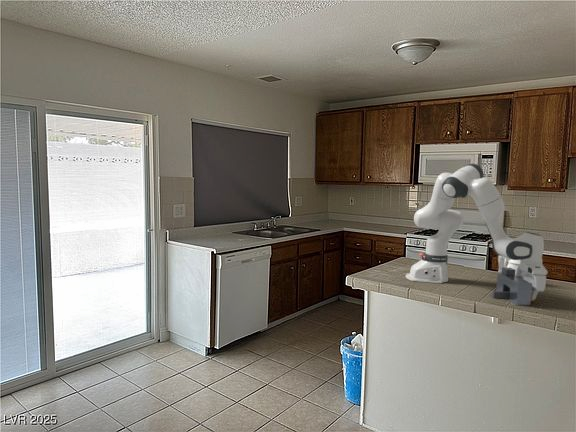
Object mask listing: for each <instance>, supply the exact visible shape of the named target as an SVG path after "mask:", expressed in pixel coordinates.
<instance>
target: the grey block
mask: <svg viewBox="0 0 576 432" xmlns="http://www.w3.org/2000/svg"><path fill="white" fill-rule="evenodd" d="M496 276H497V278H496V289H495V291H505V292H510V297H509V299H508V300H510V302H511V303H513V304H514V305H515V306H527V307H528V306H529V307H530V306H531V302H532V301H531V292H532V284H531V283H529V282H527V281H525V280H523V279H521V278H519V277H518V276H516V275H515V270H514V269H512V268H507V267H502V272H498V271H497V275H496Z"/></svg>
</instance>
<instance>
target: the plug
mask: <svg viewBox="0 0 576 432" xmlns="http://www.w3.org/2000/svg"><path fill="white" fill-rule="evenodd" d="M532 292H533V291H532ZM532 292H531V294H532ZM509 297H510V292H505V291H496V290H492V291H491V298H493V299H499V300H500V299H503V300H509ZM531 302H535V299H532V298H531Z"/></svg>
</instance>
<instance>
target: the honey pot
mask: <svg viewBox="0 0 576 432" xmlns="http://www.w3.org/2000/svg"><path fill="white" fill-rule="evenodd" d="M520 261H521V260H512V259H511V260H509V261H508V262H509V264H508V266H507V268H512V269H514V270H515V275H516V272H517V268H518V267H519V265H520Z"/></svg>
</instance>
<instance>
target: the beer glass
mask: <svg viewBox="0 0 576 432" xmlns="http://www.w3.org/2000/svg"><path fill="white" fill-rule="evenodd" d="M509 260H511V259H509V258H506V257H503V256H499V255H497V261H498V271H497V273H498V272H502V267H507V266H508V264H509V262H508V261H509Z"/></svg>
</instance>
